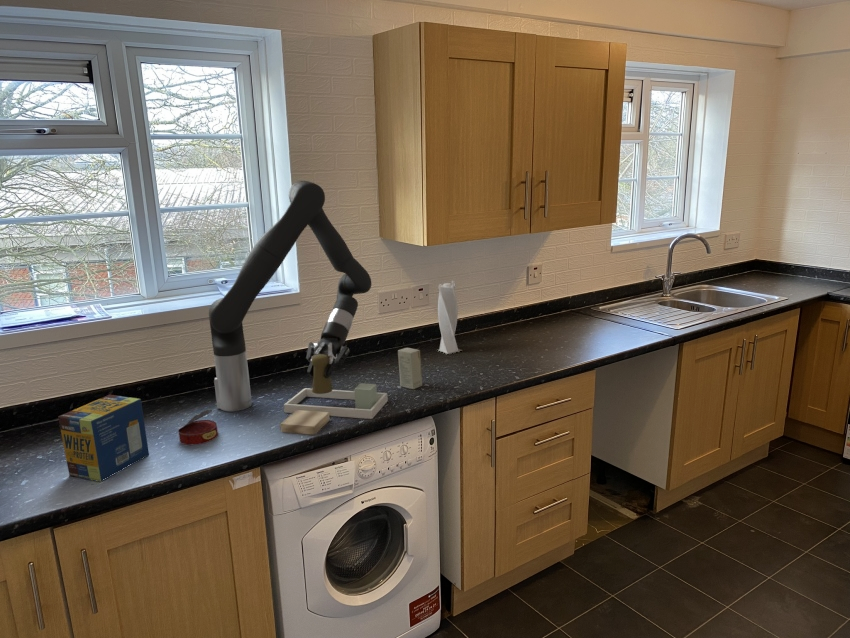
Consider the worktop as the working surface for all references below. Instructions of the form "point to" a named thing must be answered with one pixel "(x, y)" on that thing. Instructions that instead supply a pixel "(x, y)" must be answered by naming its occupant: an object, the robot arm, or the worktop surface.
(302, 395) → the white rectangular frame
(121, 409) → the protein box
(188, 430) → the canned food
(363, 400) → the sage block
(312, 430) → the board
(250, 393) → the robot arm
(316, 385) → the olive pawn
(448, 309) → the skyscraper
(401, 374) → the skincare box
